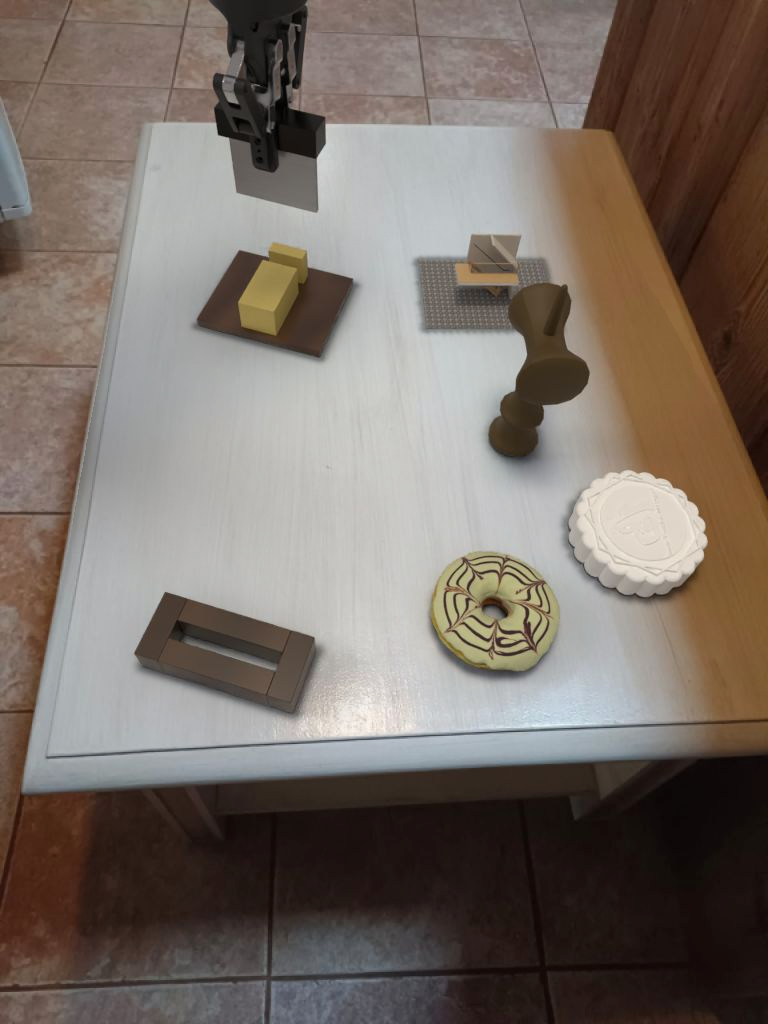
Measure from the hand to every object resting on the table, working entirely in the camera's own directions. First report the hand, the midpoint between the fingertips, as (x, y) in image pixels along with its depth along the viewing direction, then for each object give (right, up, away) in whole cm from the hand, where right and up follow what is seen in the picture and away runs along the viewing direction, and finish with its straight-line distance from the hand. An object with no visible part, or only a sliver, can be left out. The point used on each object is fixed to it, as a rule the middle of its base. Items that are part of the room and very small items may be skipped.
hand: (272, 158), depth 63 cm
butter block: (-3, -9, +16) cm, 18 cm away
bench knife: (0, -2, +4) cm, 4 cm away
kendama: (+23, -24, +10) cm, 34 cm away
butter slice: (-1, -4, +19) cm, 19 cm away
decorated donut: (+19, -41, 0) cm, 45 cm away
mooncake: (+33, -34, +5) cm, 47 cm away
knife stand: (-3, -43, -4) cm, 43 cm away
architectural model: (+22, -6, +21) cm, 31 cm away
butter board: (-2, -8, +18) cm, 20 cm away
